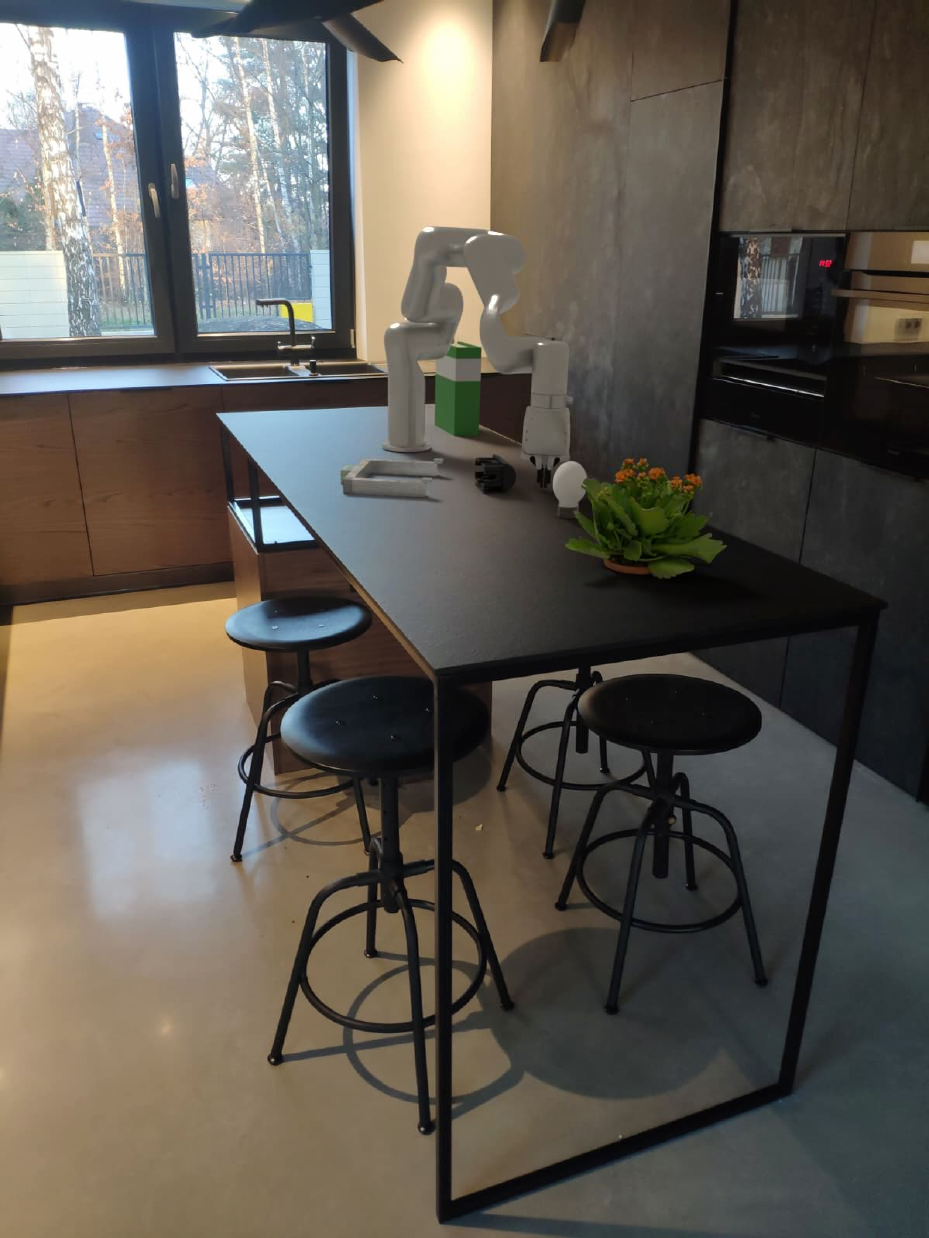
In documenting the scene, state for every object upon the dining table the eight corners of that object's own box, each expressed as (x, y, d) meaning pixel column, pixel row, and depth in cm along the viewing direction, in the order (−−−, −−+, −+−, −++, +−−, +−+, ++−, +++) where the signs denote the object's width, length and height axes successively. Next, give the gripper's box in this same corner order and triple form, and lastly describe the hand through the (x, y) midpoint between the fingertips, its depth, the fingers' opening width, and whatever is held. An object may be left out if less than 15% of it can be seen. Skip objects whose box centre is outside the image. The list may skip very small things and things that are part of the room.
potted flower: (586, 594, 145) (595, 482, 139) (533, 549, 166) (539, 450, 160) (730, 583, 152) (745, 476, 145) (661, 541, 173) (672, 446, 167)
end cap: (516, 494, 204) (517, 463, 201) (484, 495, 202) (485, 464, 200) (504, 483, 213) (505, 453, 210) (473, 484, 211) (474, 454, 209)
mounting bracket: (353, 470, 220) (353, 454, 219) (443, 474, 219) (443, 458, 217) (331, 492, 200) (331, 474, 199) (430, 497, 198) (430, 480, 197)
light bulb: (557, 521, 184) (561, 465, 180) (546, 512, 190) (549, 458, 186) (590, 519, 185) (594, 464, 181) (577, 511, 191) (581, 457, 187)
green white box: (434, 425, 280) (436, 341, 272) (458, 424, 283) (460, 341, 274) (454, 436, 265) (456, 347, 256) (478, 435, 267) (481, 347, 259)
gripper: (583, 400, 202) (577, 484, 209) (513, 397, 204) (510, 481, 210) (584, 405, 195) (577, 492, 202) (512, 402, 197) (508, 488, 203)
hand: (543, 486), depth 206 cm, fingers closed
